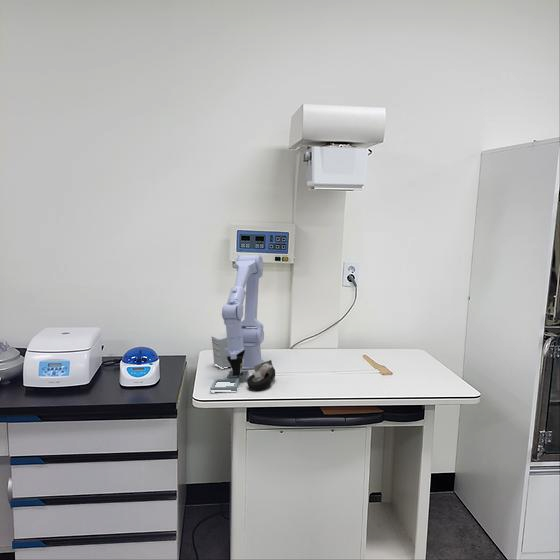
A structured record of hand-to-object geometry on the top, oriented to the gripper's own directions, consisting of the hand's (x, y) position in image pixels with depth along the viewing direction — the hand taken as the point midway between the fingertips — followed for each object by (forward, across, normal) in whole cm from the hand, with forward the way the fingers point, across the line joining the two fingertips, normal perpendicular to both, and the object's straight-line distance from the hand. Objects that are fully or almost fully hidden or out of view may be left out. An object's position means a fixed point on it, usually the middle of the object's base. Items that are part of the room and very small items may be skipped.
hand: (237, 372), depth 184 cm
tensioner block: (+3, 0, 0) cm, 3 cm away
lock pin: (+3, 0, 0) cm, 3 cm away
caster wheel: (+3, +8, +10) cm, 13 cm away
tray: (+3, +8, -4) cm, 10 cm away
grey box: (+3, -16, -7) cm, 18 cm away
